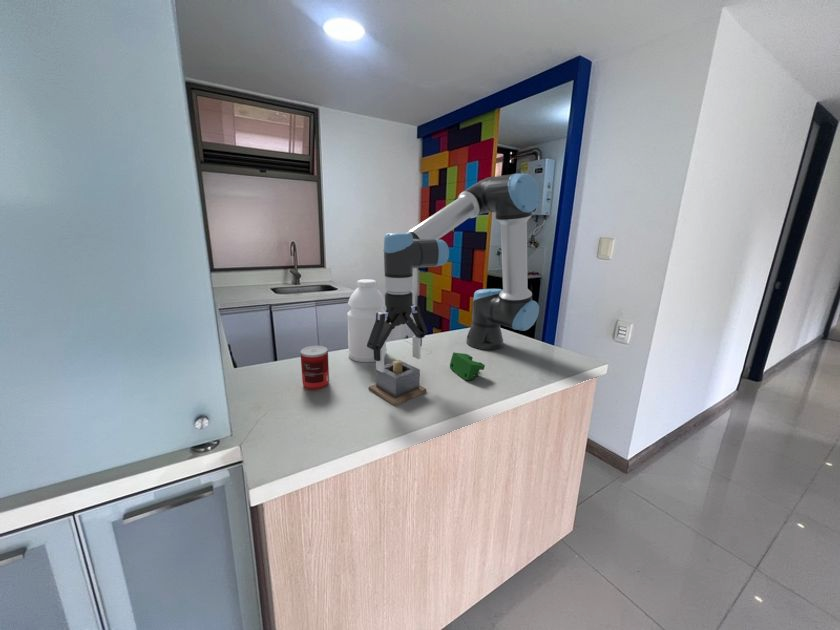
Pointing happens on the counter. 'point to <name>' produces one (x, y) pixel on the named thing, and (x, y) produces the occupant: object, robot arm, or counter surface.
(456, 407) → the counter surface
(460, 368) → the clamp
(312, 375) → the canned food
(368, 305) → the bottle
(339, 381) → the counter surface
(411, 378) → the ring
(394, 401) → the post
